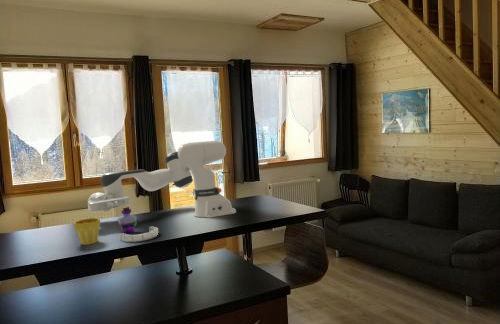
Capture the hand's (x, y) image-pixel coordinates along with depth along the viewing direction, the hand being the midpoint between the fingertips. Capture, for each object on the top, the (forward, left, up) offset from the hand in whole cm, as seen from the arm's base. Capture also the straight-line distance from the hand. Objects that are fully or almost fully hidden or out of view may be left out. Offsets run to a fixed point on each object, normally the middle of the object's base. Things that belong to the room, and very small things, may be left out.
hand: (114, 204), depth 197 cm
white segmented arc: (-12, +25, -12) cm, 30 cm away
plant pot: (+10, +21, -12) cm, 26 cm away
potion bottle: (-6, +11, -12) cm, 17 cm away
